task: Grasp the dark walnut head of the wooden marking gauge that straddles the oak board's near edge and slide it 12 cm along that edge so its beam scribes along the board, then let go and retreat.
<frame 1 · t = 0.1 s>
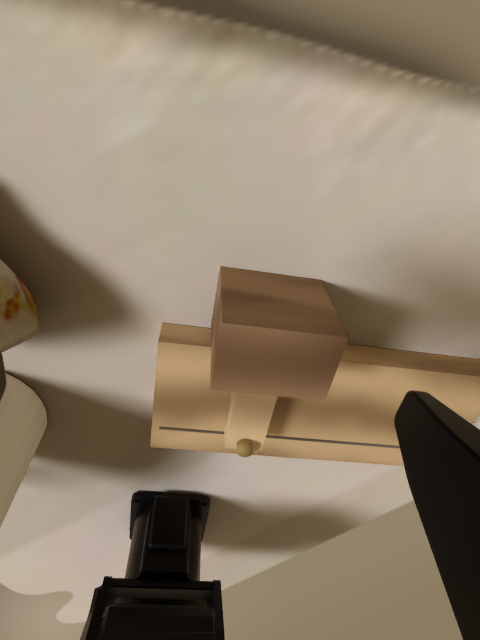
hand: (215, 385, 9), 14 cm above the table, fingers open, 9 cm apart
gauge: (264, 302, 25), on the table, touching board
board: (313, 393, 29), on the table
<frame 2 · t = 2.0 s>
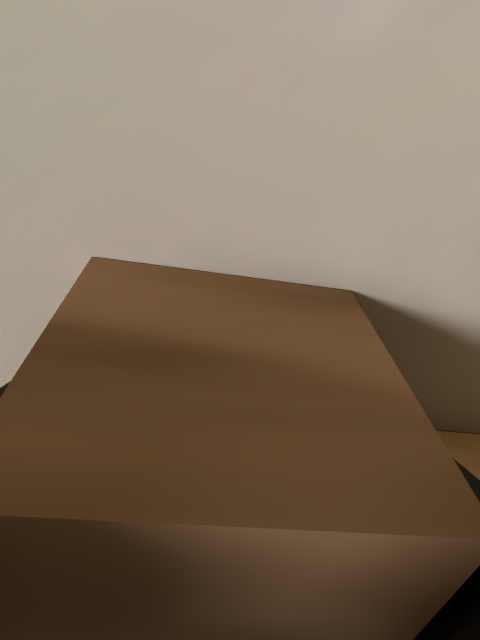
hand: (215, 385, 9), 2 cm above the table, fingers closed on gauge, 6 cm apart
gauge: (215, 345, 10), on the table, touching board, gripper
board: (328, 513, 14), on the table
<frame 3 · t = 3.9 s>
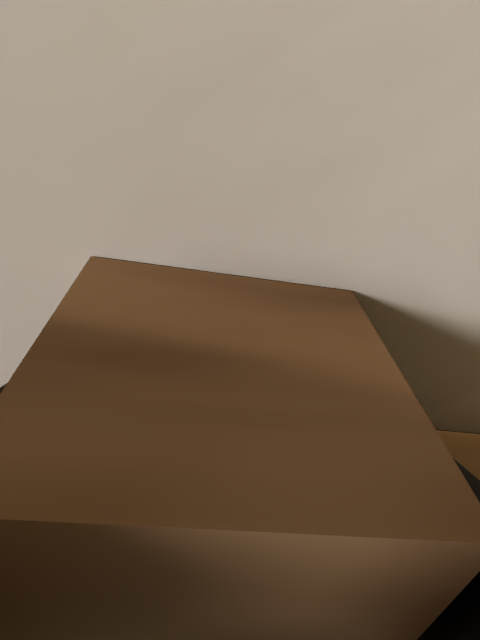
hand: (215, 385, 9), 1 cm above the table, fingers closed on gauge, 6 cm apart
gauge: (215, 345, 10), on the table, touching gripper
board: (164, 503, 14), on the table
when the fingers open (1 cm above the table, at t = 5.9 s): gauge stays where it is, resting on board.
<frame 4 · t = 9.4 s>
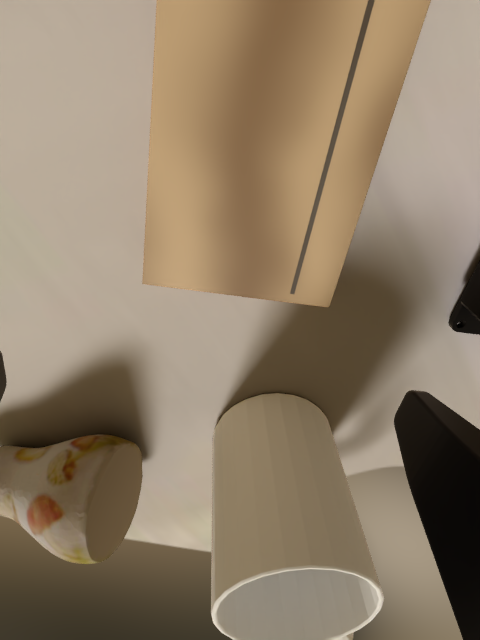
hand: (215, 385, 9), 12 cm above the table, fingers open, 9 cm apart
patterned white vase: (71, 451, 28), on the table
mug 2: (283, 450, 29), on the table
board: (285, 16, 15), on the table
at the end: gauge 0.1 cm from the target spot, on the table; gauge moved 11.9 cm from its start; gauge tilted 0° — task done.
